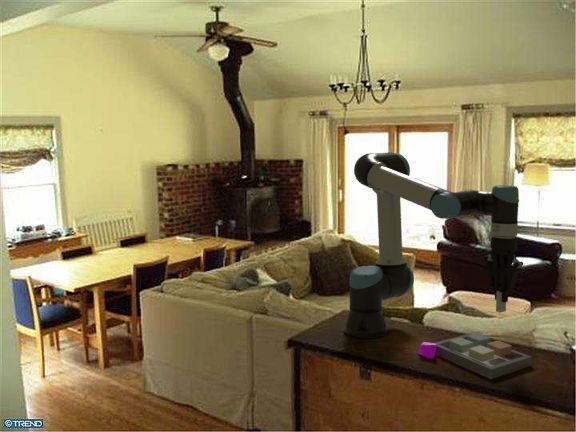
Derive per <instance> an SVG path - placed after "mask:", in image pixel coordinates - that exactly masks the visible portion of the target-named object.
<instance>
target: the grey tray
mask: <svg viewBox="0 0 576 432" xmlns="http://www.w3.org/2000/svg"><path fill="white" fill-rule="evenodd" d="M472 334H473V333H467V334H463V335H459V336H456V337H455V336H454V337H451V338H448V339H445V340H439V341H436V342H432V343H433V344H436V345H437V347H436V351H435V355H436V356H438V357H441V358H443V359H445V360H447V359H448V360H447V361H449V360H450V362H451V361H452V363H454V364H456V365H458V366H461V367H462V368H465V369H467V370H469V371H472V372H474V373H476V374H479V375H481V376H483V377H485V378H487V379H489V380H493V379H496V378H499V377H502V376H505V375H509V374H512V373H515V372H517V371H520V370H524V369H528V368H529V367H532V364H533V363H532V361H533V360H532V359H533V357H532V356H531V355H528V354H525V353H523V352H520V351H517V350H515V349H512V353H511V354H507V355H504V356H501V357H500V356H497V355H495V354H494V359H491V360H487V361H484V362H481V361H479V360H476V359H474V358H472V357H469V351H468V352H465V353H460V352H457V351H455V350H453V349H450V348H449V340H453V339H457V338H463V339H466V340H467V336H469V335H472ZM473 347H475V346H473ZM486 348H487V346H486Z"/></svg>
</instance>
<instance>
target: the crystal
mask: <svg viewBox="0 0 576 432" xmlns="http://www.w3.org/2000/svg"><path fill="white" fill-rule="evenodd" d="M433 343H434V342H430V341H427V342H426V341H423V342H421V344H420V347H419V350H418V352H417V354H418V355H421V356H422V355H423V357H426V358H427V359H429V358H431V360H432V359H434V357H435V355H436V354H435V351H436V347H437V345H436V344H433Z"/></svg>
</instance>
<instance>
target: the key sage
mask: <svg viewBox="0 0 576 432" xmlns="http://www.w3.org/2000/svg"><path fill="white" fill-rule="evenodd" d="M473 343H474V342H471V341H469V340H466V339H463V338H457V339H453V340H449V348H450V349H453V350H455V351H457V352H460V353H465V352H468V351H469V348H473Z"/></svg>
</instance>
